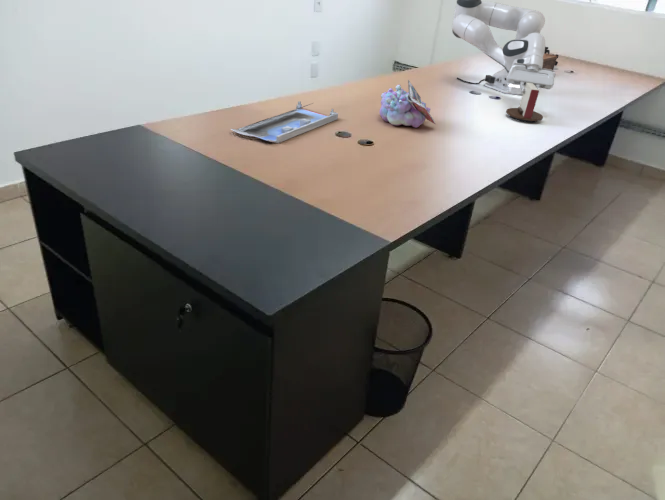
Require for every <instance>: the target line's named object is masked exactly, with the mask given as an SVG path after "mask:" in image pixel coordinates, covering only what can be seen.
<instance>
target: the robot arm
mask: <svg viewBox="0 0 665 500" xmlns="http://www.w3.org/2000/svg"><path fill="white" fill-rule="evenodd" d="M452 19H453V20H452V24H451V29H452V31H451V32H452V34H453V36H454V37H456V38H457V39H462V40H463V41H465V42H467V43H469V44H470V45H472V46H473V47H475V48H477V49H478V50H480V51H481V52H482V53H484V54H485V55H486V56H487V57H489V58H490V59H491V60H493V61H495V62H496V63H498V64H499V65H501V66H502V67H503V68H502V69H501V70H498V71H497V72H495V73H493V74H492V75H491V74H486V75H485V77H484V79H481V80H480V81H479V82H472V81H468V80H464V79H461V78H460V77H456V80H458V81H461V82H462V83H467V84H470V85H480V84H481V83H482V82H485V83H484V87H487V88H489V89H492V90H495V91H496V92H497V91H498V92H501V93H503V94H508V95H509V94H510V95H518V96H522V95H523V93H525V90H526V88H525V84H526V82H528V83H533V84H534V85H535V86H536V88H537V89H538V90H539V89H544V90H551V89H552V88H553V87H554V85H555V77H556V72H555V71H554V69H553V70H552V69H546V68H542V67H543V55H544V52H545V47H546V39H545V37H544V36H543V34H542V33H541V31H542V30H543V28H544V26H545V25H546V18H545V15H544V13H543V12H541V11H540V10H536V9H530V8H525V7H519V6H513V5H509V4H504V3H500V2H496V1H488V0H456V4H455V8H454V11H453V18H452ZM490 27H493V28H496V29H501V30H505V31H513V32H516V33H515V37H514V38H515V39H511V40H509V41H506V43H505V44H504V45H503V47H501V46H500V45H499V44H498V43H497V41H496V39H495V38H494V36H493V33H492V30H491V28H490Z"/></svg>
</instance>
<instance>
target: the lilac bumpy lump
mask: <svg viewBox="0 0 665 500" xmlns="http://www.w3.org/2000/svg"><path fill="white" fill-rule="evenodd" d="M407 84H408V85H407V88H408V92H407V91H406V90H404V89H403V88H402V86H401V84H397V85H396V86H395V90H394V89H393V88H392V87H391V88H390V87H389V89H387V91H384V92H382V93H381V94H380V98H381V99H380V105H381V106H380V108H379V115H380V118H381V119H382V120H383V121H384V122H386V123H387V122H389V124H391V125H392V126H401V125H403V126H405V127H413V128H414V129H415V128H419V127H420V125H422V124H424V123H425V121H426V120H427V121H428V122H430V123H432V124H434V125H436V121H435V120H434V118H433V116H432V115H431V107H427V103H426V102H424V101H422V98H421V95H420V94H419V93H418V91H417V90H416V88H415V87H414V86H413V83H412V82H411V81H410V79H407Z"/></svg>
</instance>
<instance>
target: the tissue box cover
mask: <svg viewBox="0 0 665 500" xmlns="http://www.w3.org/2000/svg"><path fill="white" fill-rule="evenodd" d="M555 55H556V54H550V53H549V54H548V53H544V55H543V67H542V68H546V69H552V70H553V71H554V69H555V66H556V65H555V63H556V61H557V59H558V58H557V56H555Z"/></svg>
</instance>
